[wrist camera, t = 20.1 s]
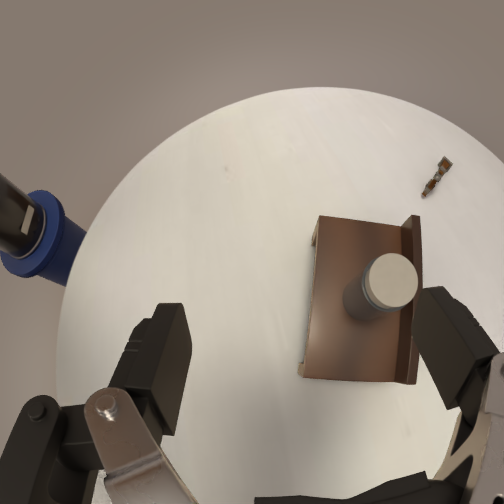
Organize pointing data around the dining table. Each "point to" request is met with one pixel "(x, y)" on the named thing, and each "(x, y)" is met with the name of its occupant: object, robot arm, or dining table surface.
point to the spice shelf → (341, 323)
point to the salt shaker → (380, 288)
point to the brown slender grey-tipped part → (438, 174)
